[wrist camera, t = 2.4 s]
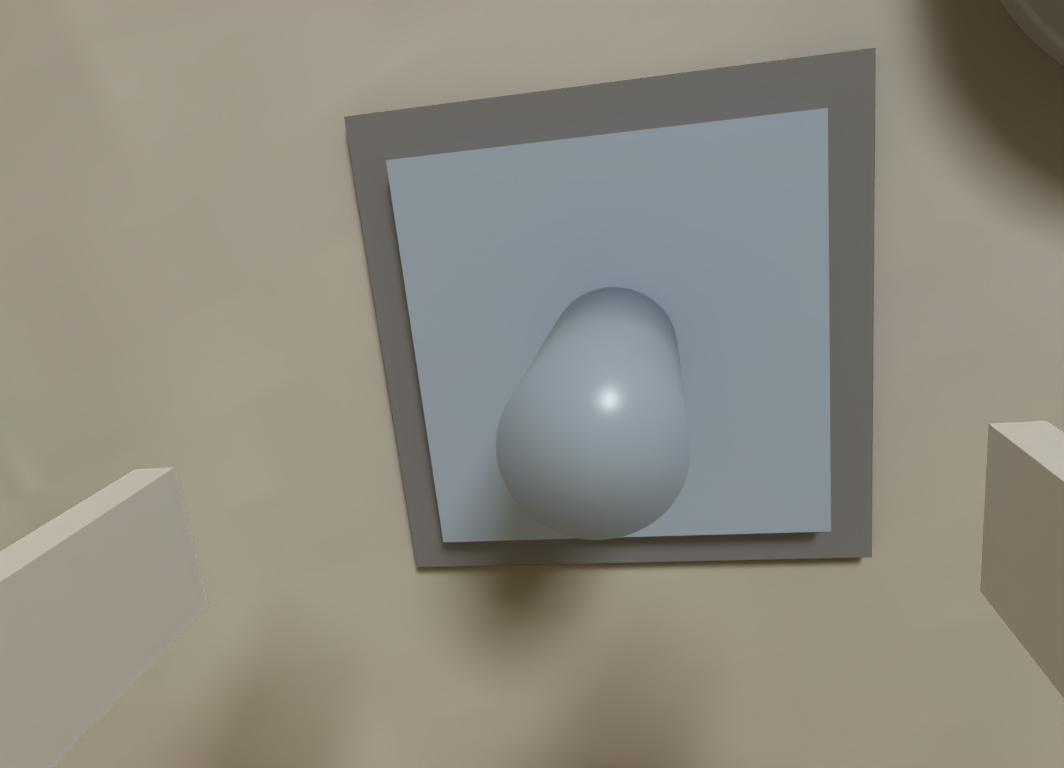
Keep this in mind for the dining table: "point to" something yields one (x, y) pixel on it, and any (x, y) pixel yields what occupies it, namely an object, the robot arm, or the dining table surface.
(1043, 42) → the dog bowl
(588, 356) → the lid
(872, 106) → the mat
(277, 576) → the dining table surface
